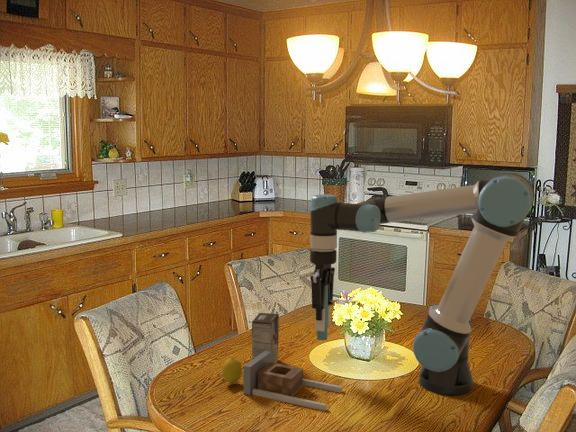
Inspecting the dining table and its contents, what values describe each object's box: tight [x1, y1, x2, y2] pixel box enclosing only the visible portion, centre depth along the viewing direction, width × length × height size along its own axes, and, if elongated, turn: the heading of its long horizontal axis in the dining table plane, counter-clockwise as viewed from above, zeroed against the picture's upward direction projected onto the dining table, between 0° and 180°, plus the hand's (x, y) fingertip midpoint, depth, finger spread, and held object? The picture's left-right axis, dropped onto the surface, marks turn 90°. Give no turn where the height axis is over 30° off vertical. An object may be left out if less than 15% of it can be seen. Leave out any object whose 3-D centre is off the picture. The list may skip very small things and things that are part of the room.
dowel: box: [316, 285, 328, 341], centre depth 176 cm, size 3×3×16 cm
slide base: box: [243, 349, 343, 412], centre depth 167 cm, size 25×15×9 cm, turn 65°
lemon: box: [221, 356, 243, 385], centre depth 174 cm, size 6×6×8 cm
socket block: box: [258, 362, 304, 397], centre depth 169 cm, size 10×8×6 cm
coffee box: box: [251, 312, 280, 364], centre depth 185 cm, size 9×6×16 cm
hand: (322, 328), depth 177 cm, fingers closed on dowel, 3 cm apart
